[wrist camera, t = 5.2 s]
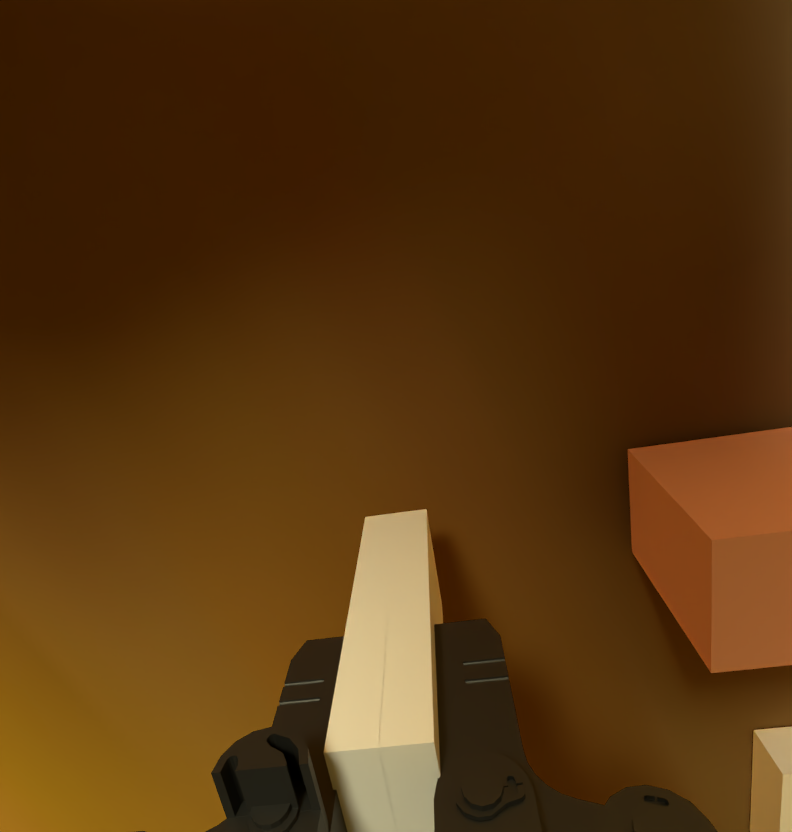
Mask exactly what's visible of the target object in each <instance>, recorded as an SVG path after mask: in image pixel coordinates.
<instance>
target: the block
mask: <svg viewBox="0 0 792 832" xmlns="http://www.w3.org/2000/svg"><path fill="white" fill-rule="evenodd" d="M750 832H792V726H791V727H781V728H770V729H759V730H754V732H753V758H752V785H751V812H750Z"/></svg>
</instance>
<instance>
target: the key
mask: <svg viewBox="0 0 792 832" xmlns="http://www.w3.org/2000/svg"><path fill="white" fill-rule="evenodd" d="M628 471H629V494H630V518H631V542H632V553H633V554H634V556H635V557H636V559H637V560H638V562H639V563H640V565H641V567H642V568H643V570H644V571H645V573H646V574H647V576H648V577H649V579H650V580H651V582H652V583H653V585H654V586H655V588H656V590H657V591H658V593H659V594H660V596H661V597H662V599H663V600H664V602H665V603H666V605H667V606H668V608H669V609H670V611H671V613H672V614H673V616H674V617H675V619H676V620H677V622H678V623H679V625H680V626H681V628H682V629H683V631H684V632H685V634H686V636H687V637H688V639H689V640H690V642H691V643H692V645H693V646H694V648H695V649H696V651H697V652H698V654H699V655H700V657H701V659H702V660H703V662H704V663H705V665H706V666H707V668H708V669H709V671H710V672H711V673H718V672H728V671H738V670H747V669H757V668H767V667H777V666H786V665H792V427H787V428H780V429H773V430H765V431H758V432H751V433H743V434H736V435H728V436H721V437H714V438H706V439H699V440H692V441H684V442H677V443H670V444H662V445H655V446H648V447H640V448H633V449H628Z"/></svg>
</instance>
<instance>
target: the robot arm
mask: <svg viewBox="0 0 792 832" xmlns="http://www.w3.org/2000/svg"><path fill="white" fill-rule="evenodd" d="M279 703H280V705H279V706H278V707H277V711H276V714H275V718H274V721H273V725H272V727H269V728H265V729H261V730H257V731H254V732H252V733H250V734H248V735H246V736H245V737H243V738H241V739H239V740H238V741H236V742H235V743H234V744H233V745H232V746H231V747H230V748H229V749H228V750H227V751H226V752H225V753H224V754H223V755H222V756H221V757H220V759H219V760H218V762H217V764H216V766H215V767H214V769H213V771H212V773H211V774H212V777H213V780H214V783H215V785H216V788H217V791H218V794H219V797H220V800H221V803H222V806H223V809H224V811H225V814H226V817H227V819H226V820H224V821H223V822H222V823H220V824H219V825H217V826H216V827H214V828H212V829H210V830H208V831H206V832H717V830H716V829H715V828H714V826H713V825H712V824H711V823H710V821H709V820H708V819H707V818H706V817H705V816H704V815H703V814H702V813H701V812H700V811H699V810H698V809H697V808H696V807H695V806H694V805H693V804H692V803H691V802H690V801H688V800H686V799H684V798H682V797H681V796H679V795H677V794H675V793H673V792H672V791H670V790H667V789H662V788H658V787H653V786H649V785H642V786H634V787H626V788H624V789H622V790H621V791H619V792H617V793H616V794H614V795H612V796H611V797H610V798H609V799H608V801H607V803H606V804H605V805H601V804H597V803H592V802H588V801H584V800H580V799H576V798H573V797H570V796H567V795H564V794H561V793H559V792H558V791H556V790H554V789H553V788H551V787H549V786H548V785H546V784H545V783H544V782H543V781H542V780H541V779H540V778H539V777H538V776H537V775H535V773H534V772H533V770H532V769H531V767H530V766H529V764H528V763H527V760H526V757H525V754H524V751H523V747H522V742H521V737H520V732H519V727H518V722H517V717H516V712H515V707H514V702H513V697H512V692H511V687H510V682H509V677H508V672H507V667H506V662H505V657H504V652H503V647H502V642H501V637H500V635H499V634H498V633H497V631H496V630H495V629H494V628H493V627H492V626H491V624H490V623H489V622H488V621H487V620H486V619H478V620H469V621H460V622H451V623H443V611H442V601H441V595H440V588H439V582H438V576H437V570H436V564H435V558H434V552H433V546H432V539H431V533H430V527H429V521H428V515H427V509H422V510H415V511H407V512H399V513H391V514H384V515H376V516H368V517H365V522H364V527H363V533H362V539H361V544H360V550H359V555H358V561H357V567H356V572H355V578H354V584H353V589H352V595H351V601H350V606H349V612H348V617H347V623H346V629H345V634H344V636H343V637H334V638H325V639H316V640H307V641H306V642H305V643H304V645H303V646H302V647H301V649H300V650H299V651H298V652H297V654H296V655H295V656H294V657H293V659H292V660H291V663H290V666H289V669H288V673H287V676H286V680H285V687H283V690H282V694H281V697H280V701H279ZM138 832H145V831H138Z"/></svg>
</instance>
